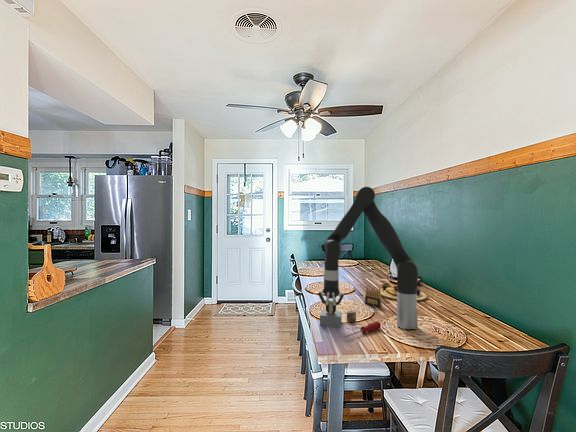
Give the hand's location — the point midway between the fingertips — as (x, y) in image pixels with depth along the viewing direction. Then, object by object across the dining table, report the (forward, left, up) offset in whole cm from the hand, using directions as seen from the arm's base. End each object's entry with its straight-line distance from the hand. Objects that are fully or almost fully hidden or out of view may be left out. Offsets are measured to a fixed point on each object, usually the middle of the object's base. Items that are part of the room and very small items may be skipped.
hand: (330, 312), depth 153 cm
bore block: (0, 0, -6) cm, 6 cm away
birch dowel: (0, 0, -3) cm, 3 cm away
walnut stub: (-10, -6, -6) cm, 13 cm away
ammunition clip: (-22, -39, -6) cm, 45 cm away
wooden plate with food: (-43, -69, -6) cm, 81 cm away
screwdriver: (-16, +11, -6) cm, 20 cm away
